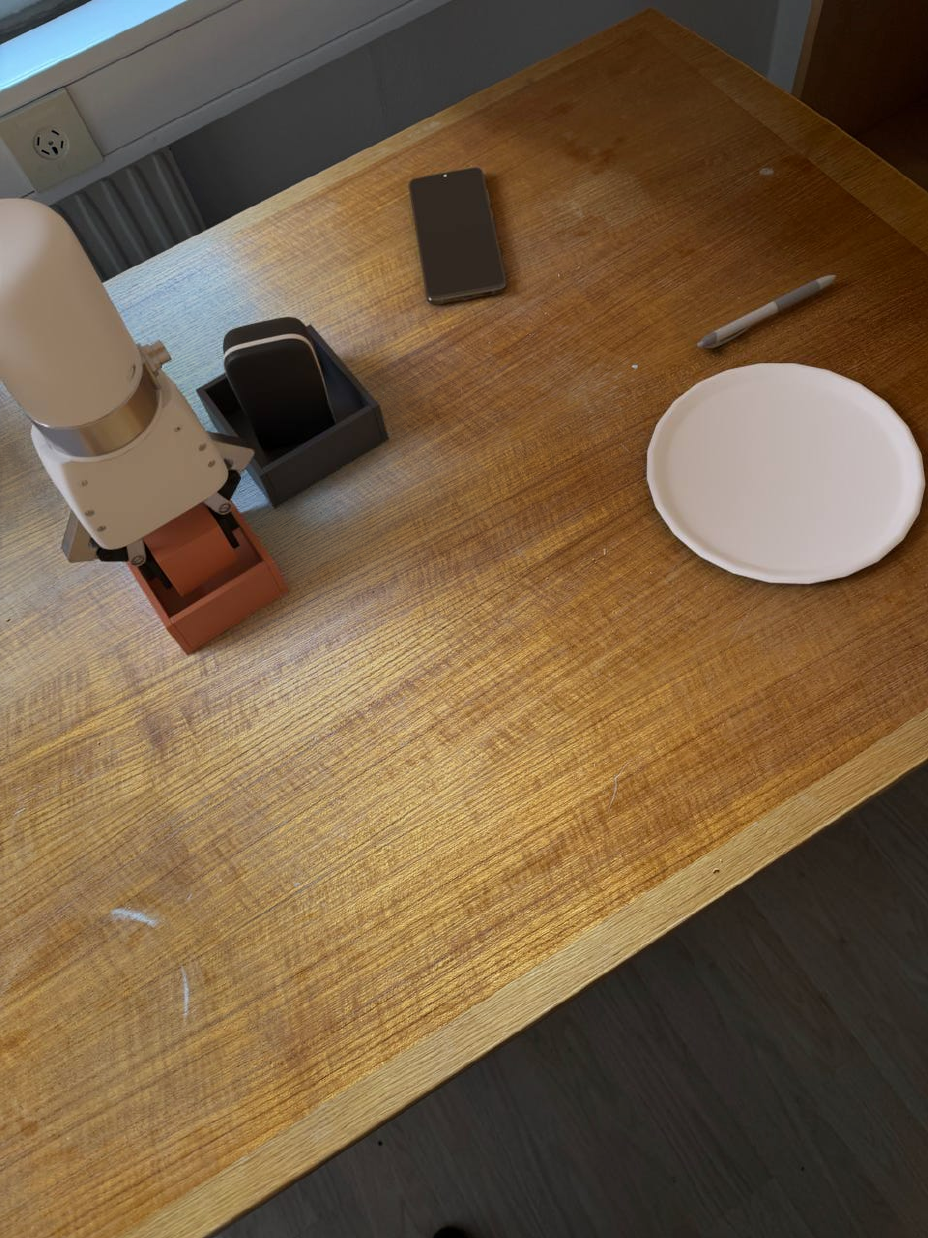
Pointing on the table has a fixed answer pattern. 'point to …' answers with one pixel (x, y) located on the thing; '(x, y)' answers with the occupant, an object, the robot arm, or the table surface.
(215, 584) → the clay bin
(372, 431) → the dark bin
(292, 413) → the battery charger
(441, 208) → the smartphone
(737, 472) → the plate
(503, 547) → the table surface
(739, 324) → the pen
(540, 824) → the table surface
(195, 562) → the clay block
